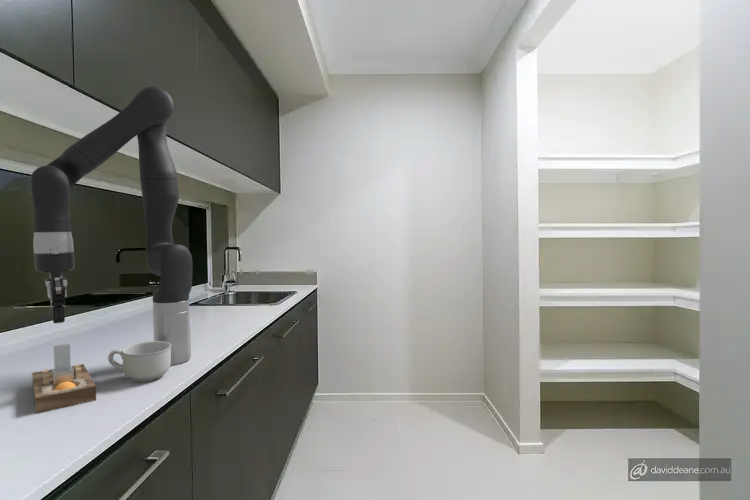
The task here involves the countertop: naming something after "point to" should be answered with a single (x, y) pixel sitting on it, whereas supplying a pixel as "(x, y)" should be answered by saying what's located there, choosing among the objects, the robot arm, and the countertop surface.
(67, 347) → the grey upright block
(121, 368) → the teacup
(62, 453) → the countertop surface
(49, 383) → the wooden holder
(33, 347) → the countertop surface
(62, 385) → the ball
